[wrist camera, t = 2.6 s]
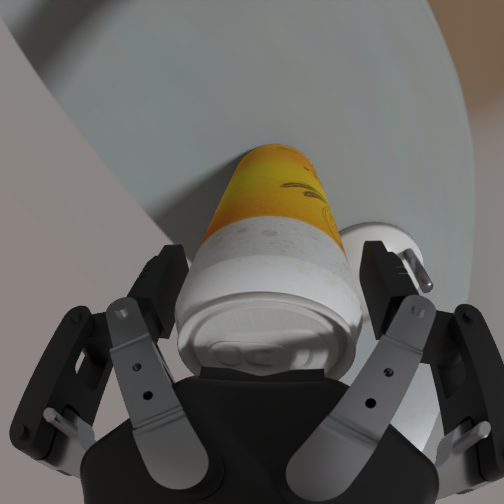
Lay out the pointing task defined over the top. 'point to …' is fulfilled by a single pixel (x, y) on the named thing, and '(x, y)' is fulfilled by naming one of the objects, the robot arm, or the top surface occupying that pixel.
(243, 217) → the beer can
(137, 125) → the top surface
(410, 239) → the pin tray
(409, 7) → the top surface
